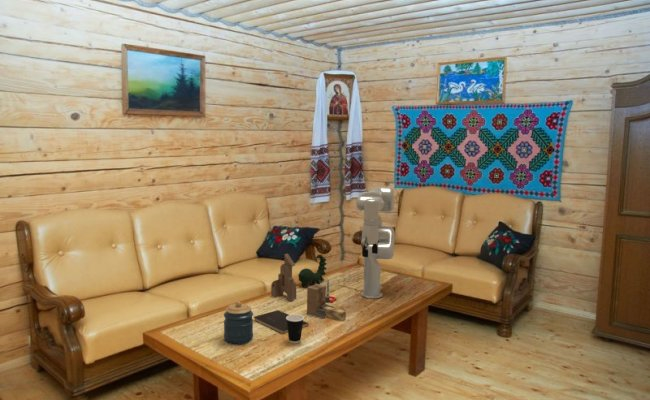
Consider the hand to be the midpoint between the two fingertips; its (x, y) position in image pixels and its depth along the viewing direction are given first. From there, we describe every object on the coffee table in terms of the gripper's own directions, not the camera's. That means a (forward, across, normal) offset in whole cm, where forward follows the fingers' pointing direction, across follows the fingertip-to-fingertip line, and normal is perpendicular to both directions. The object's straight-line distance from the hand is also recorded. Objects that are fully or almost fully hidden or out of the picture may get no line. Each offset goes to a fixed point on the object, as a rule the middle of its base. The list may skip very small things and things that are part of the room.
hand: (370, 255), depth 259 cm
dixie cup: (+31, +54, -6) cm, 62 cm away
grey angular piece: (+30, +19, -17) cm, 40 cm away
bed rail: (+30, +19, -9) cm, 37 cm away
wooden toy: (+31, +11, -49) cm, 58 cm away
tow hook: (+31, -2, -27) cm, 41 cm away
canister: (+31, +68, -27) cm, 79 cm away
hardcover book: (+31, +41, -25) cm, 57 cm away
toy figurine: (+31, -19, -52) cm, 63 cm away
